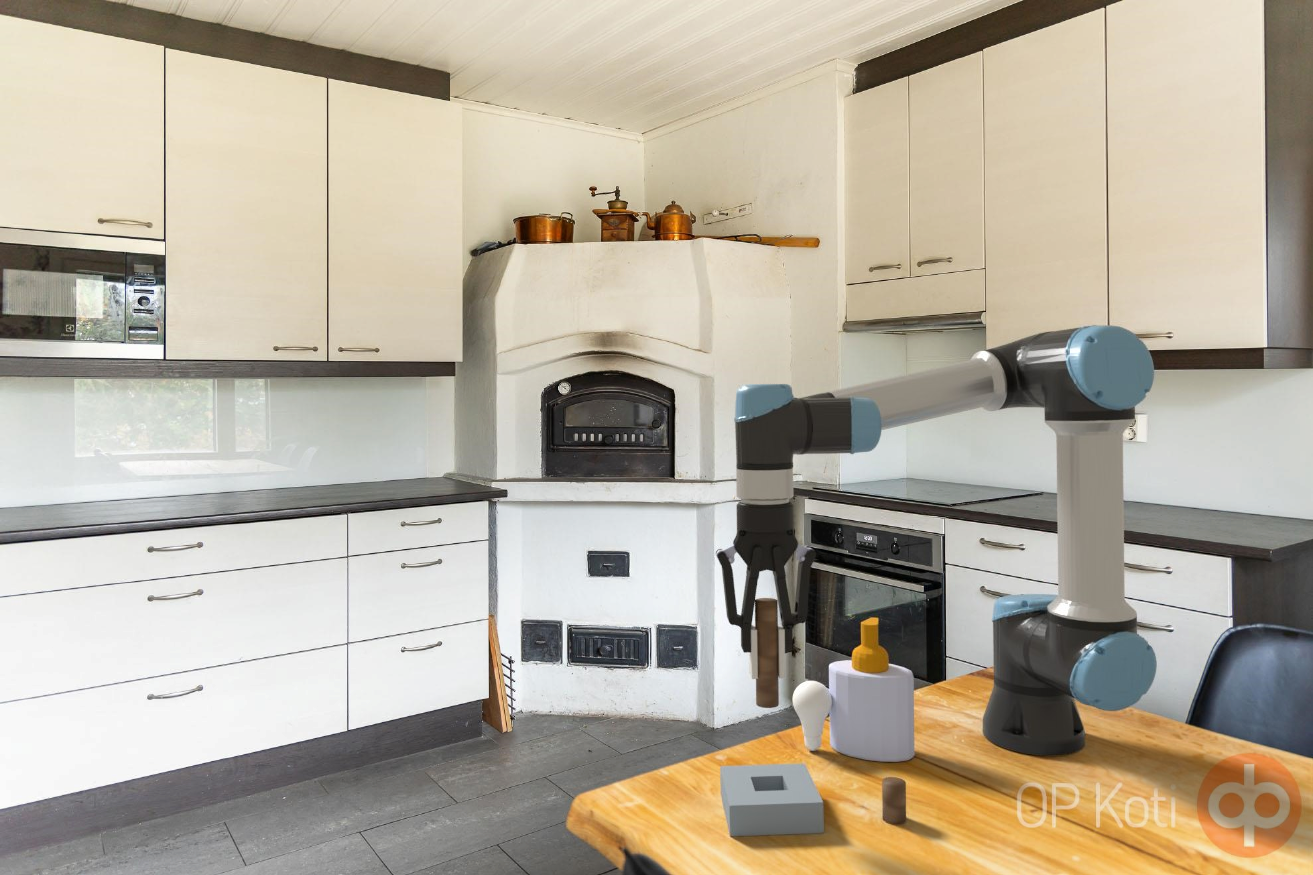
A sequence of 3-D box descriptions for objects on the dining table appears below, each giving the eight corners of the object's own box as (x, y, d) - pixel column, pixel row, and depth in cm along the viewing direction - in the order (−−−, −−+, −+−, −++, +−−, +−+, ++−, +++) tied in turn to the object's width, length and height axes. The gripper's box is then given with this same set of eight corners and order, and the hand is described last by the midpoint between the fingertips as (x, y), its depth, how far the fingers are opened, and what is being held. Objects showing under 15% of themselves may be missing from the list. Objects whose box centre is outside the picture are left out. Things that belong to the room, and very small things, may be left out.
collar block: (805, 790, 123) (804, 763, 123) (823, 832, 111) (823, 802, 111) (720, 793, 123) (720, 765, 123) (730, 836, 111) (729, 805, 111)
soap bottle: (919, 748, 137) (918, 620, 136) (909, 768, 130) (907, 633, 129) (837, 735, 143) (835, 613, 142) (822, 753, 136) (820, 625, 135)
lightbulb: (832, 759, 134) (831, 688, 133) (792, 757, 135) (791, 687, 134) (832, 743, 140) (831, 676, 139) (794, 741, 141) (793, 674, 140)
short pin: (902, 813, 116) (901, 776, 116) (909, 824, 113) (908, 786, 113) (879, 813, 116) (879, 777, 116) (886, 824, 113) (885, 787, 113)
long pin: (776, 699, 118) (775, 597, 117) (780, 707, 115) (779, 602, 114) (754, 700, 118) (753, 598, 117) (757, 708, 115) (756, 603, 114)
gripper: (818, 496, 119) (820, 665, 120) (702, 498, 119) (705, 668, 120) (831, 502, 112) (833, 682, 113) (706, 505, 111) (709, 685, 112)
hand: (767, 674), depth 116 cm, fingers closed on long pin, 3 cm apart
